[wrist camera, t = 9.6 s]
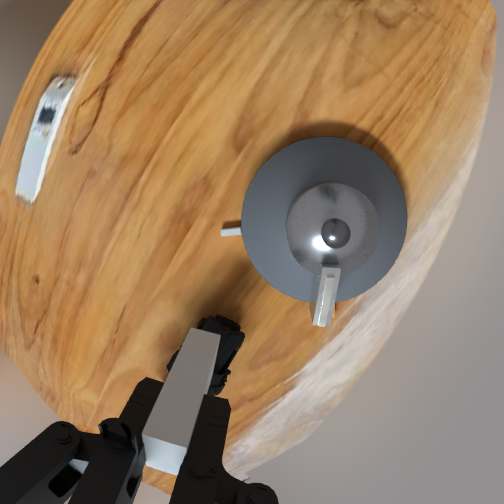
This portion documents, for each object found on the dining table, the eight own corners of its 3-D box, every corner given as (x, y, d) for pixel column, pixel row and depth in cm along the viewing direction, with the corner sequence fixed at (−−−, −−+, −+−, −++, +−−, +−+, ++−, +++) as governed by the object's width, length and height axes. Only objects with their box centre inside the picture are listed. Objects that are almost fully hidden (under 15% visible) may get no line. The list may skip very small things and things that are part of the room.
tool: (247, 315, 47) (262, 342, 32) (186, 416, 45) (180, 467, 30) (204, 291, 46) (200, 309, 31) (147, 396, 44) (127, 443, 29)
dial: (289, 176, 30) (291, 179, 26) (376, 187, 29) (390, 191, 25) (277, 305, 35) (277, 323, 31) (354, 309, 34) (362, 327, 30)
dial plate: (246, 115, 30) (244, 113, 28) (417, 167, 30) (425, 168, 28) (210, 289, 37) (206, 296, 36) (364, 322, 37) (367, 330, 36)
